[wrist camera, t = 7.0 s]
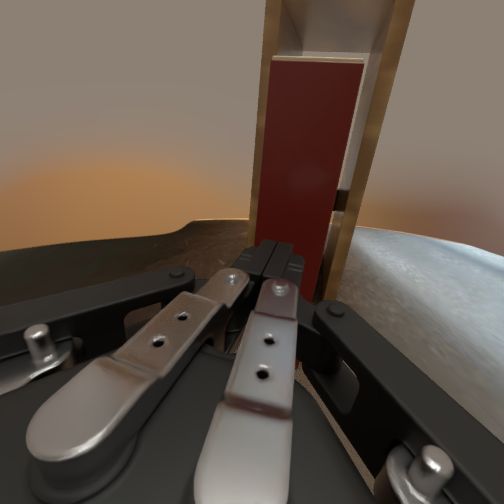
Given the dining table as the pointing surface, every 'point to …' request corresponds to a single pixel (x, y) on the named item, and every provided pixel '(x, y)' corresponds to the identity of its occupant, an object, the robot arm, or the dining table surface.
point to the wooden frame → (370, 105)
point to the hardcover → (304, 153)
